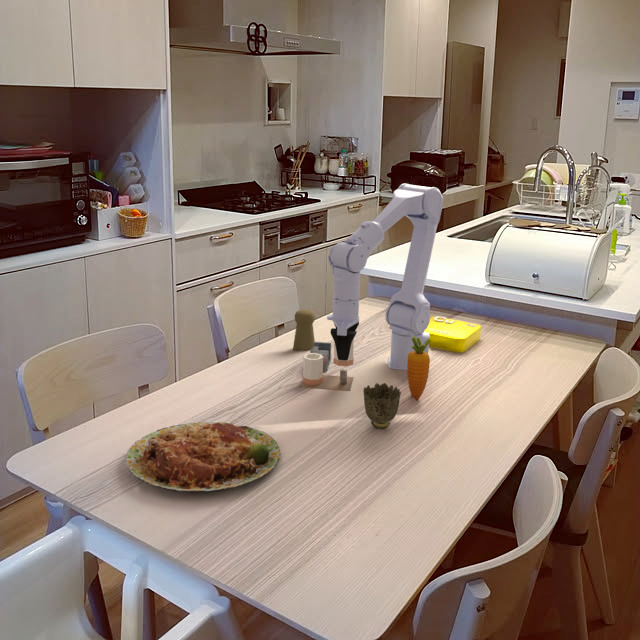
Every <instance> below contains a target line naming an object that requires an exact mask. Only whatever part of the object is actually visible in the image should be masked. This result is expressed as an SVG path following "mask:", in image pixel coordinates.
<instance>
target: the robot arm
mask: <svg viewBox="0 0 640 640" xmlns="http://www.w3.org/2000/svg"><path fill="white" fill-rule="evenodd" d="M392 194H393V195H392V200H391V201H390V202H389V203H388V204H387V205H386V206H385V208H383V210H382V211H380V213H379V214H378V216H376V217H375V219H374V220H373V221H371V220H366V221H363V222H362V223H360V226H359V227H358V228H357V229H356V230H355V231H354V232H353V233H352V234H351V235H350V236H348V237H347V238H346V240H344V242H343V241H340V242H337V243H336V244H335V245H333V246H332V248H331V249H330V252H329V255H328V256H327V258H328V263H329V265H330V267H331V274H332V276H333V294H332V314H328V315H327V318H326V319H327V321H332V322H333V325H334V327H335V328H332V327H331V328H330V335H331V337H332V340H333V342H335V346H336V351H337V357H338V360H348V357H349V353H350V348H351V343H352V341H353V339H354V340H355V337H356V335H357V329H358V326H359V325H360V316H359V313H360V311H359V310H360V291H361V290H360V288H361V286H360V285H361V271H362V270H364V268H365V266H366V264H367V262H368V259H369V258H370V256H371V253H372V252H373V251H374V250H375V249H376V248H377V247H378V246H379V245H381V244H382V243H383V241H384V239H385V233H386V232H387V231H388V230H389V229H391V227H393V226H394V225H395V224H396V223H397V222H398V221H400V220H401V219H402V218H404V217H406V218H408V220H410V222H411V223H412V226H413V230H412V235H411V240H410V244H409V249H408V250H409V251H408V255H407V259H406V265H405V269H404V274H403V279H402V283H401V288H400V290H399V291H398V292H395V294H393V295H392V296H391V297H390V302H389V304H388V306H387V308H386V310H385V316H384V317H385V322H386V323H387V325H389V330H390V331H391V339H390V340H391V341H390V342H391V343H390V355H389V357H388V364H387V366H388V368H389V369H391V370H402V371H407V361H408V354H409V353H410V352H413V351H415V350H414V349H413V348H412V346H414V343H413V341H412V337H414V336H415V337H416V339H417V338H420V340H421V343H422V345H423V344H424V343H425V341H426V340H427V339H429V333H428V332H424V331H425V330H426V329H427V327H428V325H429V322H430V318H431V316H430V309H431V303H430V302H429V301H428V299H427V298H426V296H425V295H424V289H425V285H426V280H427V276H428V272H429V267H430V262H431V257H432V252H433V249H434V248H433V246H434V243H435V238H436V234H437V229H438V225H439V223H440V220H441V214H442V210H443V205H444V202H445V201H444V200H445V198H444V197H443V194H442V193H441V191H440V189H439V188H438V187H435V186H432V187H430V186H421V185H416V184H415V185H414V184H409V183H402V184H400V185H399V186H398V188H397V189H395V190H394V191H393V193H392ZM417 342H418V341H417ZM418 345H419V343H418ZM429 348H430V347H429V344H428V345H427V347H426V348H425V350H424V352H426V353H428V354H429Z"/></svg>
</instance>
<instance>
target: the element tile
mask: <svg viewBox="0 0 640 640" xmlns="http://www.w3.org/2000/svg"><path fill="white" fill-rule="evenodd" d="M424 332H428V333H429V339H430V340H431V341H430V342H429V348H433V349H438V350H443V351H448V352H452V353H458V354H459V353H460V354H462V353H465V352H466V351H467V352H468V350H469V349H471V348H472V347H473V346H474V345H476V344H477V343H478V342H480V341H481V332H482V325H480V324H478V323H473V322H467V321H463V320H457V319H453V318H448V317H444V316H436V315H434V316H430V322H429V325H428V327H427V329H426V330H425V331H424Z"/></svg>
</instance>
